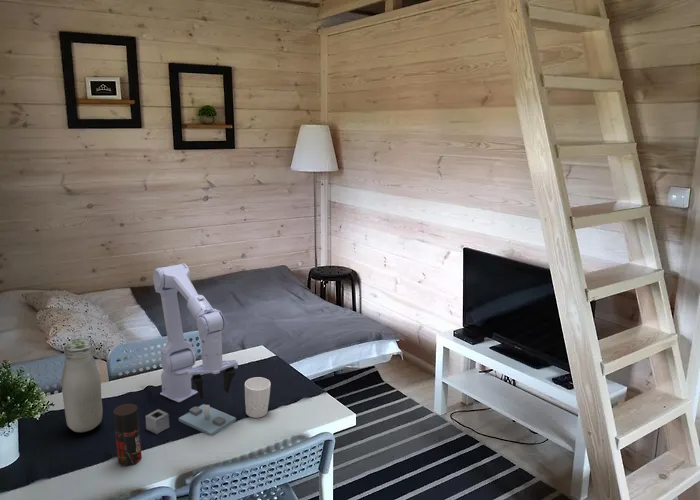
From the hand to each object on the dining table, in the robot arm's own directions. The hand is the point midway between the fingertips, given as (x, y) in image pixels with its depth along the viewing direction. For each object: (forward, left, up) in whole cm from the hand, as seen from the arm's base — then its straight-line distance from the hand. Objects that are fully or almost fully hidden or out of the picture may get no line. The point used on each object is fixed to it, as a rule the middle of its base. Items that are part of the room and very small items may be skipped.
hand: (213, 394), depth 164 cm
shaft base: (-3, 0, -10) cm, 10 cm away
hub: (-12, -11, -10) cm, 19 cm away
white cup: (+6, +12, -10) cm, 16 cm away
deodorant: (-6, -25, -10) cm, 28 cm away
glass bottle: (-29, -23, -10) cm, 38 cm away
